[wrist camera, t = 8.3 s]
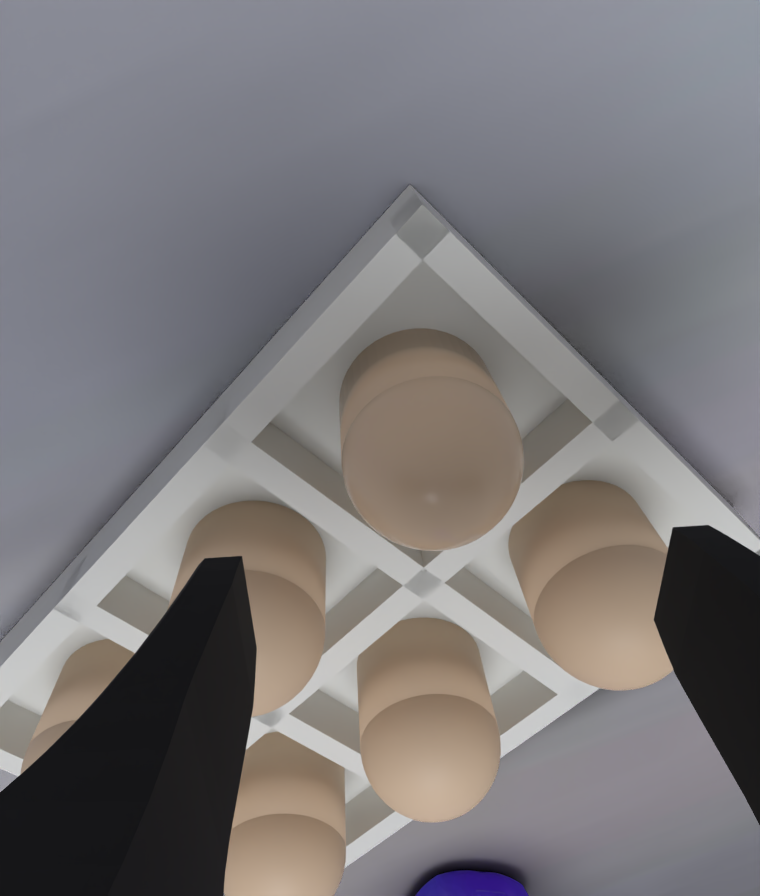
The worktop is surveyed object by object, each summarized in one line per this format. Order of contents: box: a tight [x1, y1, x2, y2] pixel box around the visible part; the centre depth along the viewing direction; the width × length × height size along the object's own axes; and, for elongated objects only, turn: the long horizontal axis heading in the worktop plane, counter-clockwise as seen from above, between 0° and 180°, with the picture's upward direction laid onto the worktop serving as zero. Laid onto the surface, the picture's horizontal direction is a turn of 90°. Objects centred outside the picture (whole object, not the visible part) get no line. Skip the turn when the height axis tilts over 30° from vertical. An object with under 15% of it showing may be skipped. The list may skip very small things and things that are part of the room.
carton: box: [0, 184, 760, 896], centre depth 20 cm, size 14×21×6 cm
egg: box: [339, 328, 524, 551], centre depth 16 cm, size 4×4×5 cm
